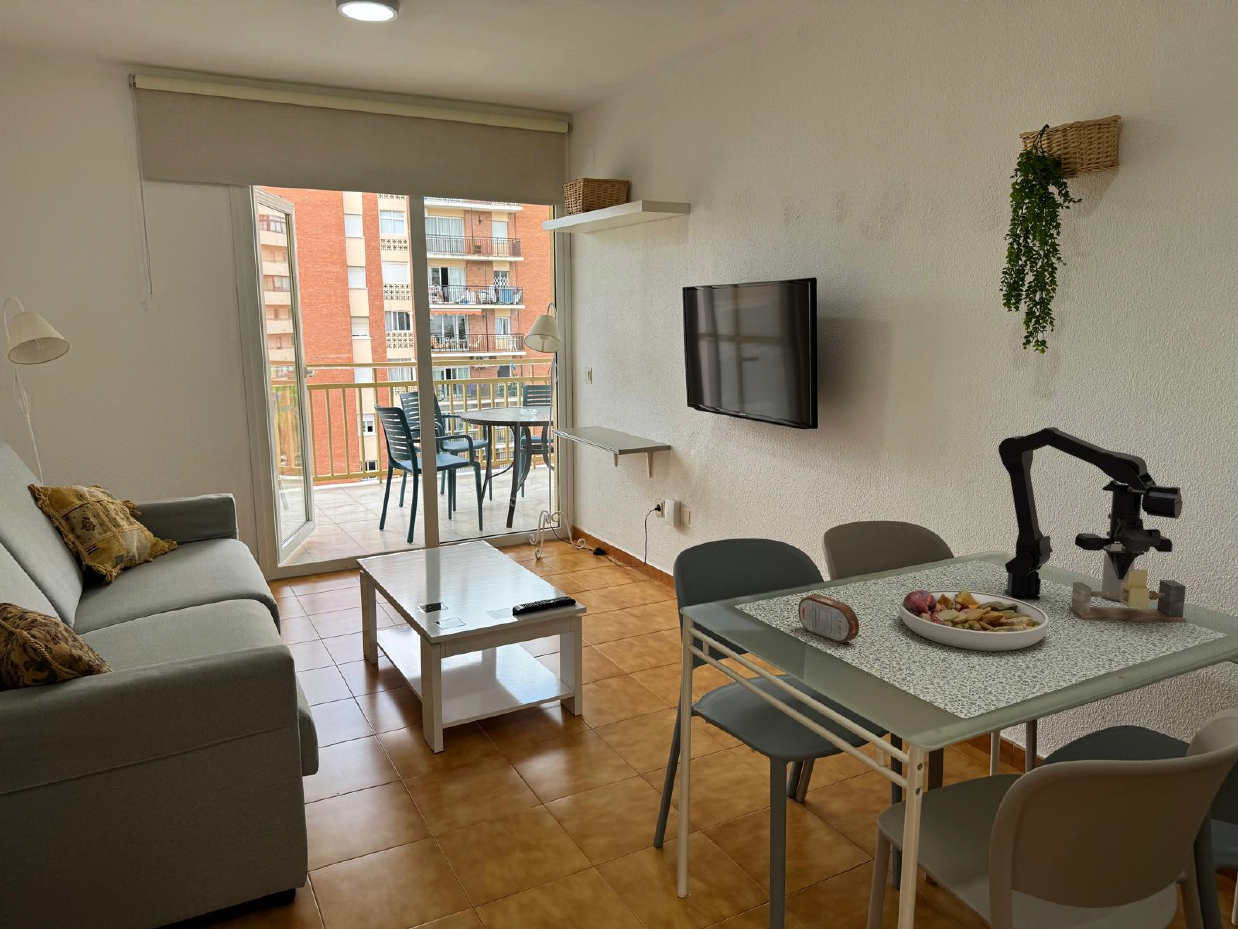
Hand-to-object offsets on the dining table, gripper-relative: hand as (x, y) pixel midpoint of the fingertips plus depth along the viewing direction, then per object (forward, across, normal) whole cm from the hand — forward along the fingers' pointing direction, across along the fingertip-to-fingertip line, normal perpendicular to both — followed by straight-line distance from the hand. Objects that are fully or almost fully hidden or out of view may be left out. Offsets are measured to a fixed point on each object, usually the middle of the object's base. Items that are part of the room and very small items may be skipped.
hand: (1120, 579), depth 198 cm
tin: (+9, -68, -20) cm, 71 cm away
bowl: (+9, -36, -13) cm, 39 cm away
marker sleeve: (+6, +3, 0) cm, 7 cm away
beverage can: (+9, +6, +14) cm, 18 cm away
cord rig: (+9, +2, 0) cm, 9 cm away
